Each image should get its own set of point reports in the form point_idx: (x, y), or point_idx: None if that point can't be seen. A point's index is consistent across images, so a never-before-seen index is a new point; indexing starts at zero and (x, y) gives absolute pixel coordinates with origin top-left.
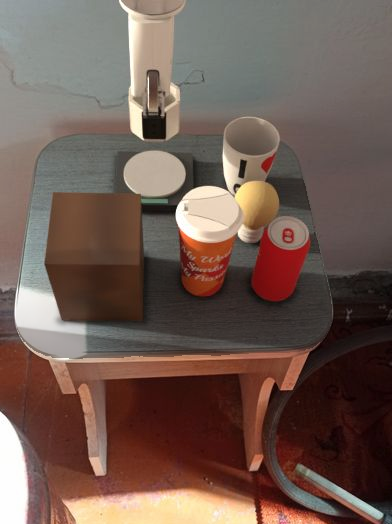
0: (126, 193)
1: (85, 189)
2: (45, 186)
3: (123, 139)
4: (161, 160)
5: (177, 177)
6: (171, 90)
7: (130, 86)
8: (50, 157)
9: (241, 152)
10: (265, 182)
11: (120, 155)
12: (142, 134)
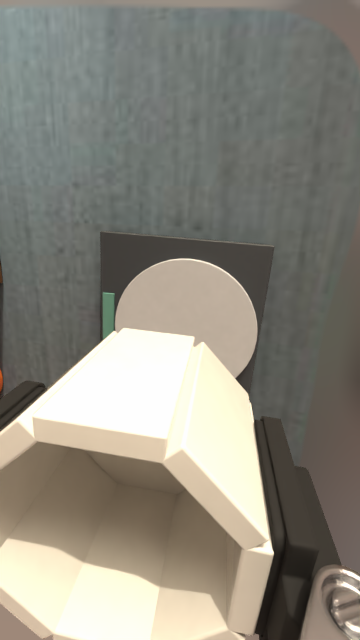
0: (131, 261)
1: (173, 157)
2: (189, 33)
3: (337, 262)
4: (221, 351)
5: None
6: (173, 611)
7: (181, 444)
8: (302, 38)
9: None
10: None
11: (257, 253)
12: (15, 388)
